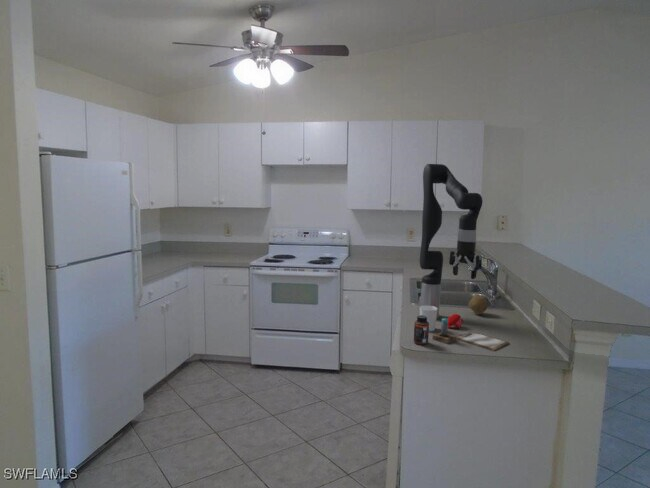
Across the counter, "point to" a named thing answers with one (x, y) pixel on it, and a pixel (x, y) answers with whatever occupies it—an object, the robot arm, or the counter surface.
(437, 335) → the marker stand
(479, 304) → the natural sponge
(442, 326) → the marker
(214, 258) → the counter surface
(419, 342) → the supplement bottle
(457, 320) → the cap
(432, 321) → the white cup
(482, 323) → the counter surface
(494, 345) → the clipboard
